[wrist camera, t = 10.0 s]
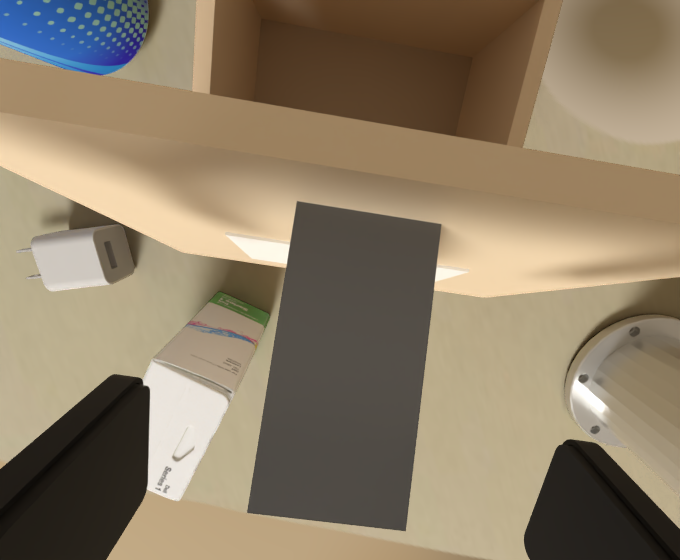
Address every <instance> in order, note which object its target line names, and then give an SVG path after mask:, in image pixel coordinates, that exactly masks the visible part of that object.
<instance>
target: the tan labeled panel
mask: <svg viewBox="0 0 680 560" xmlns="http://www.w3.org/2000/svg"><path fill="white" fill-rule="evenodd" d="M0 166H2V167H4V168H6V169H8V170H10V171H12V172H14V173H16V174H18V175H21V176H23V177H25V178H27V179H29V180H31V181H33V182H35V183H37V184H40V185H42V186H44V187H46V188H48V189H50V190H52V191H54V192H56V193H58V194H61V195H63V196H65V197H67V198H69V199H71V200H73V201H75V202H77V203H79V204H82V205H84V206H86V207H88V208H90V209H92V210H94V211H96V212H98V213H101V214H103V215H105V216H107V217H109V218H111V219H113V220H115V221H117V222H119V223H122V224H124V225H126V226H128V227H130V228H132V229H134V230H136V231H138V232H140V233H143V234H145V235H147V236H149V237H151V238H153V239H155V240H157V241H159V242H162V243H164V244H166V245H168V246H170V247H172V248H174V249H176V250H178V251H180V252H183V253H189V254H196V255H203V256H209V257H216V258H223V259H229V260H236V261H243V262H249V263H256V264H263V265H270V266H276V267H283V268H286V272H285V278H284V285H283V291H282V297H281V304H280V310H279V316H278V322H277V329H276V335H275V341H274V347H273V354H272V360H271V366H270V373H269V379H268V385H267V391H266V398H265V404H264V410H263V416H262V423H261V429H260V435H259V442H258V448H257V454H256V460H255V467H254V473H253V479H252V485H251V492H250V498H249V504H248V510H247V513H253V514H262V515H270V516H279V517H288V518H296V519H305V520H314V521H323V522H331V523H340V524H349V525H357V526H366V527H375V528H383V529H392V530H401V531H406V524H407V515H408V507H409V498H410V489H411V481H412V472H413V464H414V455H415V447H416V438H417V430H418V421H419V413H420V404H421V395H422V387H423V378H424V370H425V361H426V353H427V344H428V336H429V327H430V318H431V310H432V301H433V293H434V290H436V291H443V292H450V293H457V294H463V295H470V296H477V297H483V298H486V297H495V296H505V295H514V294H524V293H533V292H542V291H552V290H561V289H571V288H580V287H589V286H599V285H608V284H618V283H627V282H637V281H646V280H655V279H665V278H674V277H680V175H677V174H671V173H665V172H659V171H654V170H648V169H642V168H636V167H630V166H625V165H619V164H613V163H607V162H601V161H595V160H590V159H584V158H578V157H572V156H566V155H561V154H555V153H549V152H543V151H537V150H532V149H526V148H520V147H514V146H508V145H502V144H497V143H491V142H485V141H479V140H473V139H468V138H462V137H456V136H450V135H444V134H439V133H433V132H427V131H421V130H415V129H409V128H404V127H398V126H392V125H386V124H380V123H375V122H369V121H363V120H357V119H351V118H345V117H340V116H334V115H328V114H322V113H316V112H311V111H305V110H299V109H293V108H287V107H282V106H276V105H270V104H264V103H258V102H252V101H247V100H241V99H235V98H229V97H223V96H218V95H212V94H206V93H200V92H194V91H188V90H183V89H177V88H171V87H165V86H159V85H154V84H148V83H142V82H136V81H130V80H125V79H119V78H113V77H107V76H101V75H95V74H90V73H84V72H78V71H72V70H66V69H61V68H55V67H49V66H43V65H37V64H32V63H26V62H20V61H14V60H8V59H2V58H0Z"/></svg>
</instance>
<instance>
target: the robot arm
mask: <svg viewBox="0 0 680 560" xmlns="http://www.w3.org/2000/svg"><path fill="white" fill-rule="evenodd" d="M565 401H566V405H567V409H568V411H569V413H570V415H571V417H572V419H573V420H574V421H575V422H576V423H577V425H578V426H579V427H580V428H581V429H582V430H583V431H584V432H585V433H586V434H587V435H588V436H590V437H591V438H593V439H595V440H597V441H598V442H600V443H603V444H606V445H610V446H614V447H622V448H628V449H629V450H630V451H631V452H632V453H633V454H634V455H635V456H636V457H638V458H639V459H640V460H641V461H642V462H643V463H644V464H645V465H646V466H647V467H648V468H649V469H650V470H651V471H652V472H653V473H654V474H656V475H657V476H658V477H659V478H660V479H661V480H662V481H663V482H664V483H665V484H666V485H667V486H668V487H669V488H670V489H671V490H673V491H674V492H675V493H676V494H677V495H678V496H679V497H680V320H679V319H676V318H674V317H671V316H664V315H658V314H656V315H641V316H636V317H631V318H627V319H625V320H622V321H619V322H617V323H614V324H612V325H611V326H609V327H607V328H605V329H604V330H602V331H601V332H599V333H598V334H597V335H595V336H594V337H593V338H592V339H590V340H589V341H588V342H587V344H586V345H585V346H584V347H583V348H582V349H581V350H580V351H579V353H578V354H577V356H576V358H575V359H574V361H573V362H572V364H571V367H570V369H569V372H568V374H567V378H566V383H565ZM149 417H150V388H149V387H148V386H145V385H144V384H143V380H142V379H141V378H138V377H131V376H124V375H117V374H114V375H111V376H110V377H108V378H107V379H106V380H105V381H104V382H102V383H101V384H100V385H99V386H98V387H96V388H95V389H94V390H93V391H92V392H91V393H89V394H88V395H87V396H86V397H85V398H84V399H82V400H81V401H80V402H79V403H78V404H76V405H75V406H74V407H73V408H72V409H71V410H69V411H68V412H67V413H66V414H65V415H63V416H62V417H61V418H60V419H59V420H58V421H56V422H55V423H54V424H53V425H52V426H51V427H49V428H48V429H47V430H46V431H45V432H43V433H42V434H41V435H40V436H39V437H38V438H36V439H35V440H34V441H33V442H32V443H31V444H29V445H28V446H27V447H26V448H25V449H23V450H22V451H21V452H20V453H19V454H18V455H16V456H15V457H14V458H13V459H12V460H11V461H9V462H8V463H7V464H6V465H5V466H3V467H2V468H1V469H0V560H106V559H107V557H108V556H109V554H110V552H111V551H112V549H113V548H114V546H115V544H116V543H117V541H118V540H119V538H120V536H121V535H122V533H123V532H124V530H125V528H126V527H127V525H128V523H129V522H130V520H131V519H132V517H133V515H134V514H135V512H136V511H137V509H138V507H139V506H140V504H141V502H142V501H143V498H144V496H145V493H146V490H147V486H148V458H149ZM524 545H525V549H526V552H527V555H528V557H529V559H530V560H680V529H679V528H678V527H677V526H676V525H675V524H674V523H673V522H672V521H671V520H670V519H669V517H668V516H667V515H666V514H665V513H664V512H663V511H662V510H661V509H660V508H659V507H658V506H657V505H656V504H655V503H654V502H653V501H652V500H651V499H650V498H649V497H648V496H647V495H646V493H645V492H644V491H643V490H642V489H641V488H640V487H639V486H638V485H637V484H636V483H635V482H634V481H633V480H632V479H631V478H630V477H629V476H628V475H627V474H626V473H625V472H624V470H623V469H622V468H621V467H620V466H619V465H618V464H617V463H616V462H615V461H614V460H613V459H612V458H611V457H610V456H609V455H608V454H607V453H606V452H605V451H604V450H603V449H602V448H601V447H600V446H599V445H598V444H596V443H593V442H586V441H579V440H572V439H569V440H566V441H565V442H564V443H563V445H559V446H558V447H557V448H556V450H555V453H554V456H553V458H552V461H551V464H550V467H549V469H548V472H547V475H546V477H545V480H544V483H543V485H542V488H541V491H540V494H539V496H538V499H537V502H536V504H535V507H534V510H533V512H532V515H531V518H530V521H529V523H528V526H527V529H526V531H525V535H524Z"/></svg>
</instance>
